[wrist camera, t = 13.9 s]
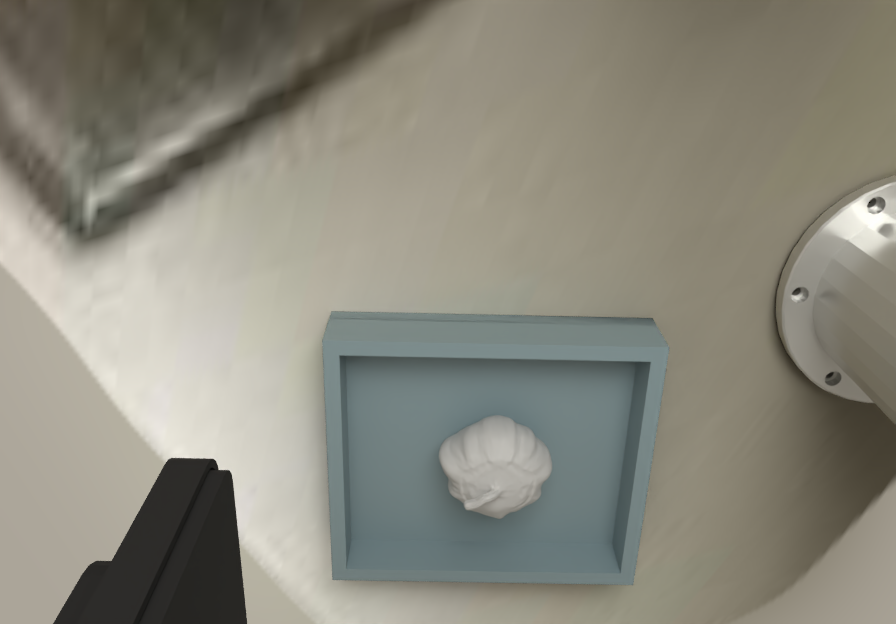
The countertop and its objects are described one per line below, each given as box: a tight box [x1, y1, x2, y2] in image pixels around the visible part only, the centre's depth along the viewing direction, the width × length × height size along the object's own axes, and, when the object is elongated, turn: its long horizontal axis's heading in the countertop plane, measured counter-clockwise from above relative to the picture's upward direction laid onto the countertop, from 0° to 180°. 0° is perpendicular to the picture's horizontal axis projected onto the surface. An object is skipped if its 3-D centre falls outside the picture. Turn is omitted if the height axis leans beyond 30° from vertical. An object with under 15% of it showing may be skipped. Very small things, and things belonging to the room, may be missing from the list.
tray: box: [322, 311, 669, 585], centre depth 44 cm, size 17×15×4 cm
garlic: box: [439, 415, 552, 519], centre depth 42 cm, size 6×5×5 cm
